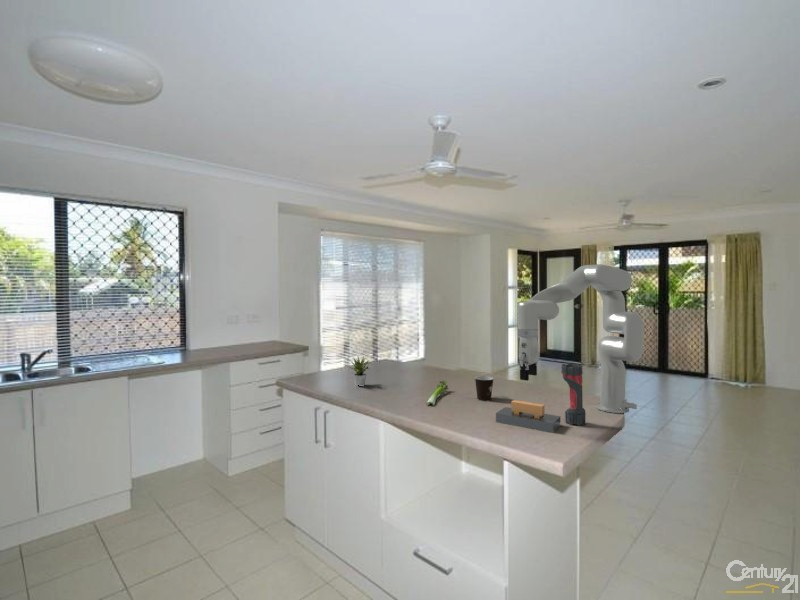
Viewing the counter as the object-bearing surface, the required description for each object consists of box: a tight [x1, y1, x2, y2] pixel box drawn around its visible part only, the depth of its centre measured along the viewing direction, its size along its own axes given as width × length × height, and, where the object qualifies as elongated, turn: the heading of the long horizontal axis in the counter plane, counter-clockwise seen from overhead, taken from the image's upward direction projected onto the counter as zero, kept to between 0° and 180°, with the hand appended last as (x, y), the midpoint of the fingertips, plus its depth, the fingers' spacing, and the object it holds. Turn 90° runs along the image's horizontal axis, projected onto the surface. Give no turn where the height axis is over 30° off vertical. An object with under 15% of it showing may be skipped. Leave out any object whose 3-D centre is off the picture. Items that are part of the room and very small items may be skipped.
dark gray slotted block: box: [495, 406, 561, 434], centre depth 162 cm, size 22×10×4 cm, turn 55°
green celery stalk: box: [425, 380, 450, 407], centre depth 201 cm, size 6×7×30 cm
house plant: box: [349, 355, 372, 386], centre depth 225 cm, size 14×14×16 cm
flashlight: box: [561, 363, 587, 426], centre depth 162 cm, size 8×8×23 cm
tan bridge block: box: [510, 399, 545, 419], centre depth 162 cm, size 12×3×8 cm, turn 54°
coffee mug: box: [474, 375, 494, 402], centre depth 199 cm, size 12×9×10 cm
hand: (528, 377), depth 162 cm, fingers open, 9 cm apart
